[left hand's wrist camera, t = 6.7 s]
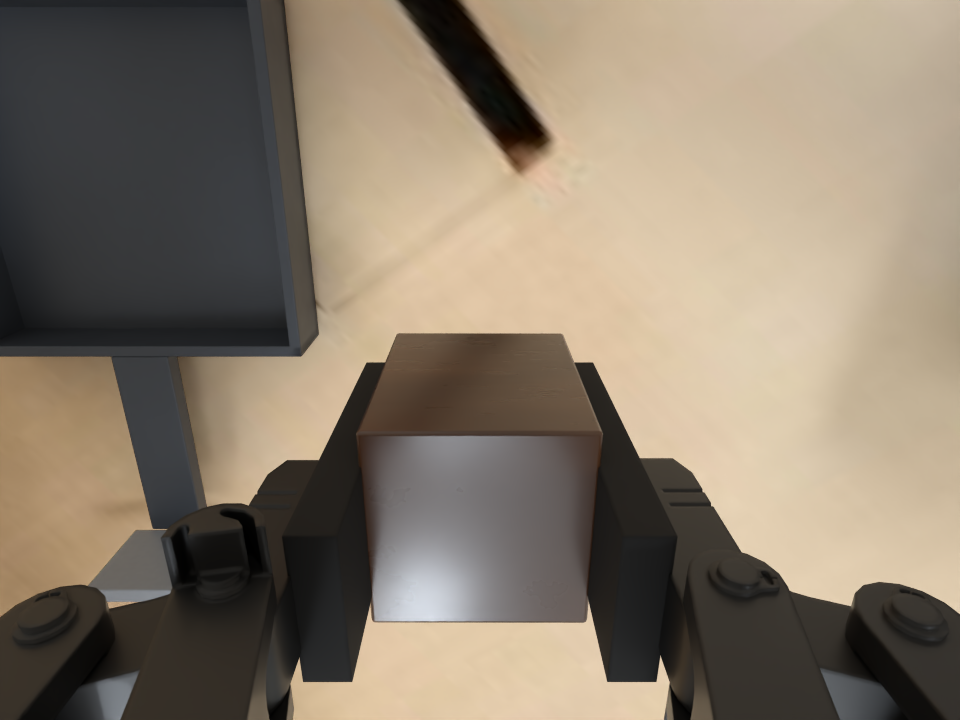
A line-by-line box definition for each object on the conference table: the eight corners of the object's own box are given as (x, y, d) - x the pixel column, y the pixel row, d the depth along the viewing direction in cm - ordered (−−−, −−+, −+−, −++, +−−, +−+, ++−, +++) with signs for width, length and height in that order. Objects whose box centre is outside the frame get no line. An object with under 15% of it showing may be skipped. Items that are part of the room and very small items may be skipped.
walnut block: (563, 332, 14) (604, 432, 9) (555, 476, 16) (587, 624, 11) (396, 332, 14) (354, 431, 9) (403, 476, 16) (371, 623, 11)
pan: (283, -6, 28) (206, -59, 20) (336, 505, 39) (299, 602, 31) (-76, -5, 28) (-296, -59, 20) (75, 505, 39) (-31, 602, 31)
